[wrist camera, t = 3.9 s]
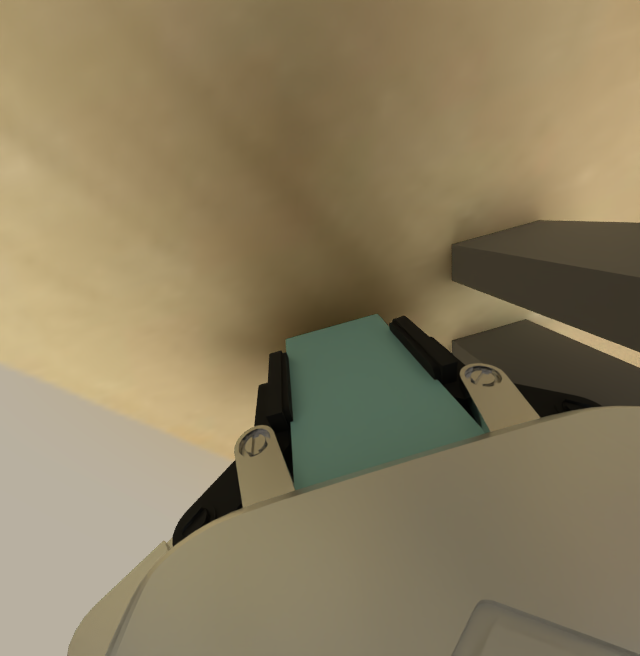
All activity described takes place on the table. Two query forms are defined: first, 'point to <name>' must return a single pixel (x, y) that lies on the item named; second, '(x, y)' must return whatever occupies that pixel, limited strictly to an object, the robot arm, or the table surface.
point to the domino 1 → (364, 402)
